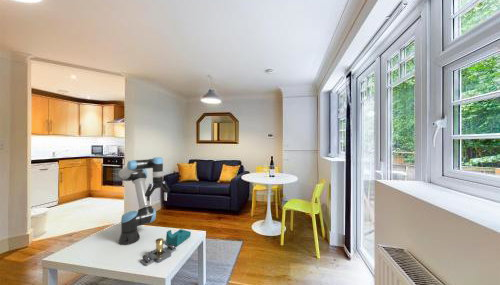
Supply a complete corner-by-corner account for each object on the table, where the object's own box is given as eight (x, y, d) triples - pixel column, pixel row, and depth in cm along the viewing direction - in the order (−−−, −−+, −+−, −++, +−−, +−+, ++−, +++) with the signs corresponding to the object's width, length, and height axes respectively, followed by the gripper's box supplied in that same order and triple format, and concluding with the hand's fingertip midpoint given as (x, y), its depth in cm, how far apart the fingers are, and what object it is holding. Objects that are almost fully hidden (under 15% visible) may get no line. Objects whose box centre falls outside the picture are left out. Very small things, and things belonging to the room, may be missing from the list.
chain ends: (138, 260, 139) (138, 254, 139) (168, 246, 158) (168, 241, 158) (149, 268, 131) (149, 261, 131) (178, 252, 150) (178, 246, 150)
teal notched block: (176, 247, 157) (177, 235, 157) (165, 244, 160) (166, 231, 160) (190, 237, 174) (191, 225, 174) (180, 234, 177) (181, 223, 177)
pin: (154, 256, 144) (154, 240, 144) (160, 253, 148) (160, 237, 148) (158, 259, 141) (158, 242, 141) (164, 255, 145) (164, 239, 145)
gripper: (144, 179, 147) (144, 207, 147) (174, 174, 168) (174, 199, 168) (139, 178, 151) (139, 205, 152) (169, 173, 172) (168, 197, 172)
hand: (157, 202), depth 160 cm, fingers open, 13 cm apart
